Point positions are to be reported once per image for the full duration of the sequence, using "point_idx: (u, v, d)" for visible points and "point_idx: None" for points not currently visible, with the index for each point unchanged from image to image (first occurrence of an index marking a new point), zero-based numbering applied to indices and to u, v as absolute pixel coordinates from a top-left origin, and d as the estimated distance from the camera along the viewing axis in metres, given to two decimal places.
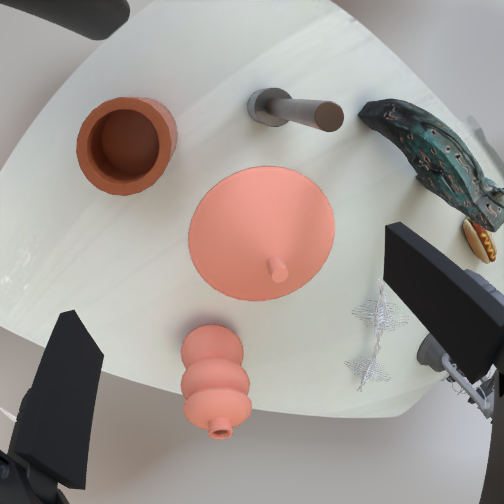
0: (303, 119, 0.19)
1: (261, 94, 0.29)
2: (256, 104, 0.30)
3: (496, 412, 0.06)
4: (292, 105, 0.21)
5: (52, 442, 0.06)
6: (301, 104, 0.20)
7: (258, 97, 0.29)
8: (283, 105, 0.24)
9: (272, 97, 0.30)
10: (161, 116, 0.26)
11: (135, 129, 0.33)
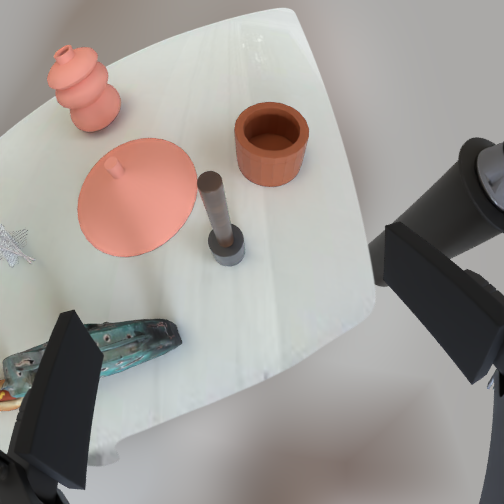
0: None
1: (241, 236, 0.38)
2: (236, 227, 0.38)
3: (496, 413, 0.06)
4: None
5: (52, 442, 0.06)
6: None
7: (240, 232, 0.38)
8: None
9: (234, 242, 0.38)
10: (272, 157, 0.38)
11: None
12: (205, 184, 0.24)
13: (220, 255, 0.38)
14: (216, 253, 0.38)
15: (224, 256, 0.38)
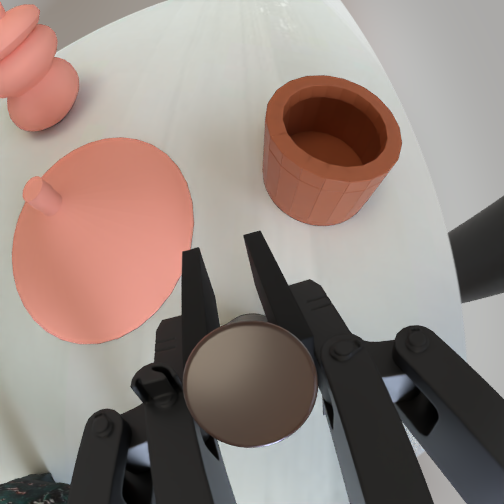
0: None
1: None
2: None
3: (335, 445, 0.07)
4: None
5: None
6: None
7: None
8: None
9: None
10: (346, 181, 0.18)
11: None
12: (230, 403, 0.04)
13: None
14: None
15: None
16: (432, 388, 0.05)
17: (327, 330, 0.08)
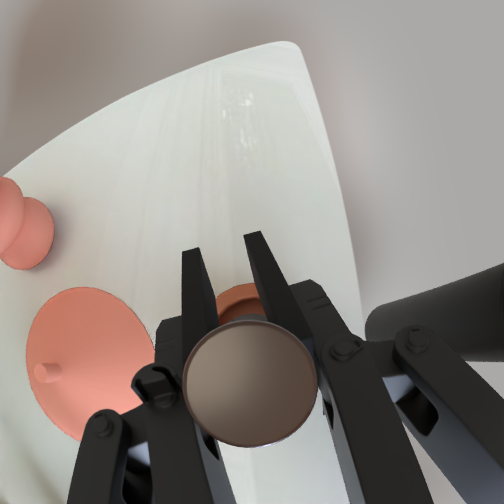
0: None
1: None
2: None
3: (335, 445, 0.07)
4: None
5: None
6: None
7: None
8: None
9: None
10: None
11: None
12: (230, 403, 0.04)
13: None
14: None
15: None
16: (432, 388, 0.05)
17: (327, 329, 0.08)
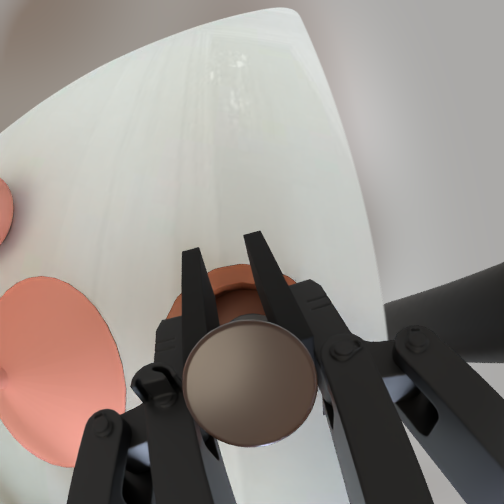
0: None
1: None
2: None
3: (335, 445, 0.07)
4: None
5: None
6: None
7: None
8: None
9: None
10: None
11: None
12: (229, 402, 0.04)
13: None
14: None
15: None
16: (432, 388, 0.05)
17: (327, 329, 0.08)
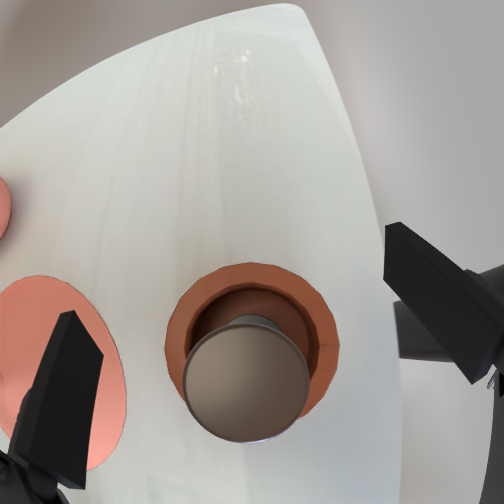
0: None
1: None
2: (271, 323, 0.19)
3: (496, 412, 0.06)
4: None
5: (52, 442, 0.06)
6: None
7: None
8: None
9: None
10: None
11: None
12: (226, 400, 0.04)
13: None
14: None
15: None
16: None
17: None
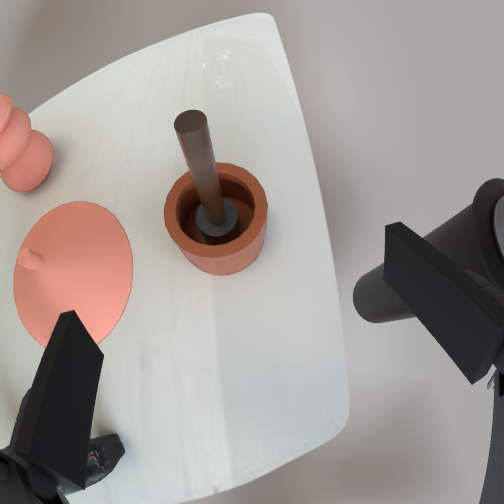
0: None
1: (235, 211, 0.31)
2: (229, 201, 0.32)
3: (496, 412, 0.06)
4: None
5: (52, 442, 0.06)
6: (212, 147, 0.20)
7: (234, 207, 0.31)
8: None
9: (226, 219, 0.31)
10: (212, 257, 0.28)
11: None
12: (185, 124, 0.17)
13: (209, 234, 0.31)
14: (205, 231, 0.31)
15: (214, 235, 0.31)
16: None
17: None
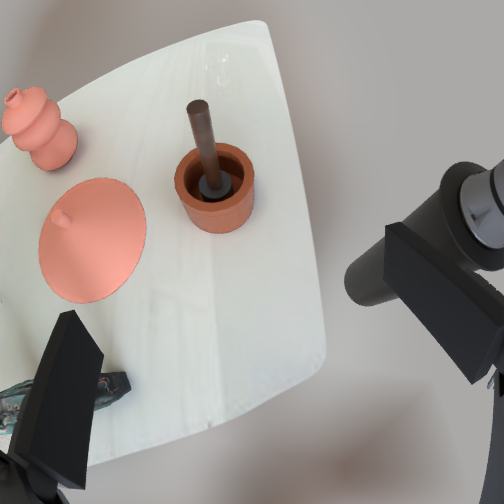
0: None
1: (230, 180, 0.40)
2: (225, 172, 0.40)
3: (496, 413, 0.06)
4: None
5: (52, 442, 0.06)
6: None
7: (229, 177, 0.40)
8: None
9: (223, 185, 0.39)
10: (211, 211, 0.36)
11: None
12: (193, 109, 0.25)
13: (209, 197, 0.39)
14: (205, 195, 0.39)
15: (213, 197, 0.39)
16: None
17: None
